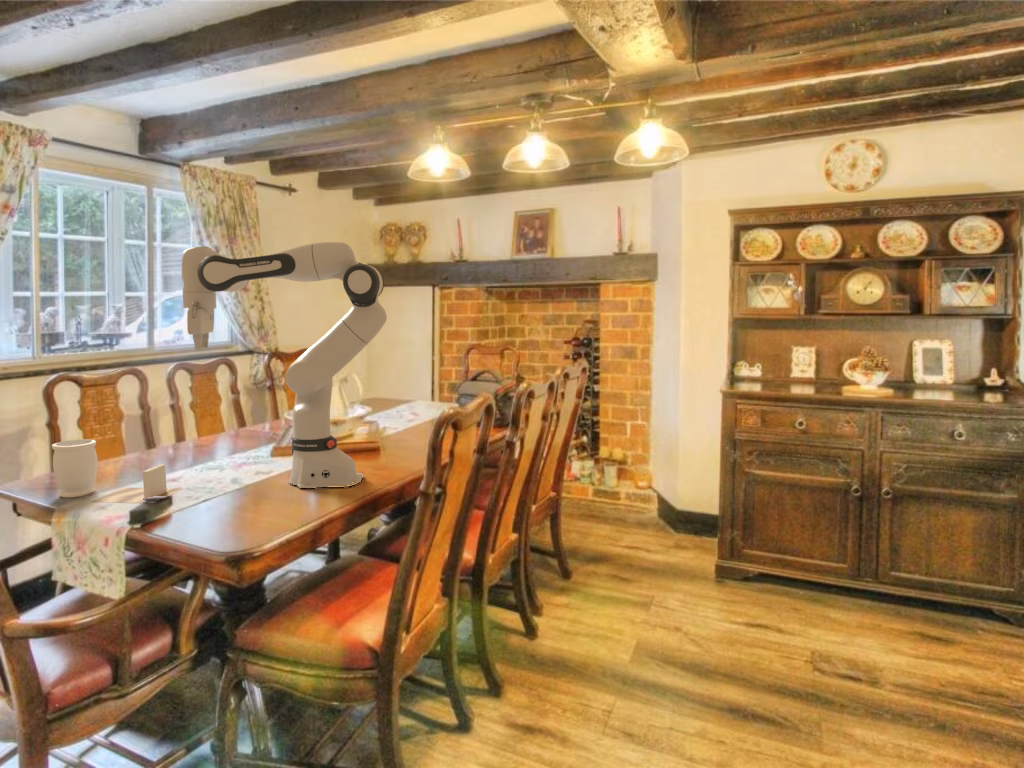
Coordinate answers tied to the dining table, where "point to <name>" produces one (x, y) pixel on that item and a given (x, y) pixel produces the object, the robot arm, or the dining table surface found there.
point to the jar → (75, 467)
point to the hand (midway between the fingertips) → (201, 348)
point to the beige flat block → (154, 481)
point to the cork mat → (130, 495)
